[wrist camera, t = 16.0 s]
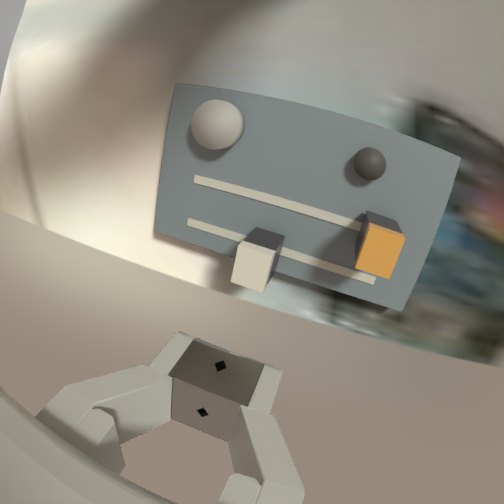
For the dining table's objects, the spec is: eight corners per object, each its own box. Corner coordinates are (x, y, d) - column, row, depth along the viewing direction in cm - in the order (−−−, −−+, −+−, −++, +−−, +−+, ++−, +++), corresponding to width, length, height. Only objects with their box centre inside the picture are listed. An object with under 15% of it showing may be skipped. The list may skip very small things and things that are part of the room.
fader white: (248, 259, 28) (230, 281, 24) (256, 226, 26) (238, 245, 22) (276, 268, 27) (262, 293, 23) (285, 235, 26) (272, 256, 22)
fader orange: (354, 245, 24) (355, 268, 20) (366, 210, 23) (370, 226, 19) (383, 255, 24) (389, 279, 20) (396, 220, 23) (405, 238, 19)
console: (164, 225, 32) (145, 235, 29) (186, 85, 26) (166, 81, 23) (399, 300, 27) (403, 320, 24) (453, 155, 22) (467, 159, 18)
